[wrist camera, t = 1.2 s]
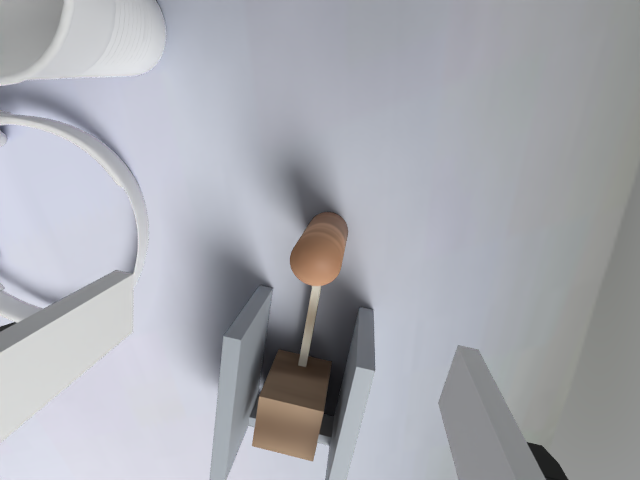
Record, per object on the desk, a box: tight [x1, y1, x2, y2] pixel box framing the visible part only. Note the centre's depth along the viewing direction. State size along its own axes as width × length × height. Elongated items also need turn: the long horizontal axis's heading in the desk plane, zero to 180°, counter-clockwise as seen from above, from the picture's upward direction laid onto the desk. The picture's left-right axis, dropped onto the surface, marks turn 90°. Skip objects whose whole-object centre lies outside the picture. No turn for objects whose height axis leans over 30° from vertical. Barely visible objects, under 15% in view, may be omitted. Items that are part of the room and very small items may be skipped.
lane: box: [210, 285, 375, 480], centre depth 28 cm, size 13×10×8 cm
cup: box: [0, 0, 166, 86], centre depth 20 cm, size 10×10×11 cm
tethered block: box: [252, 212, 348, 461], centre depth 27 cm, size 19×5×7 cm, turn 170°
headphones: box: [0, 110, 149, 323], centre depth 29 cm, size 7×18×20 cm
